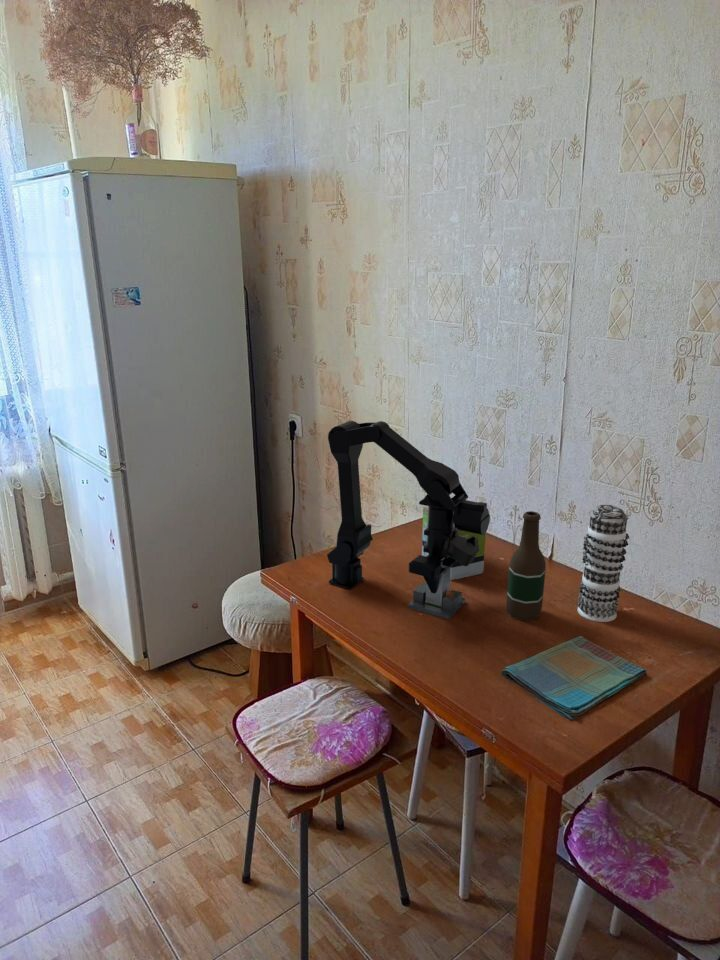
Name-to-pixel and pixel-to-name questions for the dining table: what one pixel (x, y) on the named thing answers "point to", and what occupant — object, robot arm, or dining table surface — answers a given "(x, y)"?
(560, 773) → the dining table surface
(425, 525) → the tea box
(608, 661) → the dish towel
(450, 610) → the grey square frame
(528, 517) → the beer bottle
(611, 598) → the decorative candle
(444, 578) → the grey rectangular block
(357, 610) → the dining table surface
